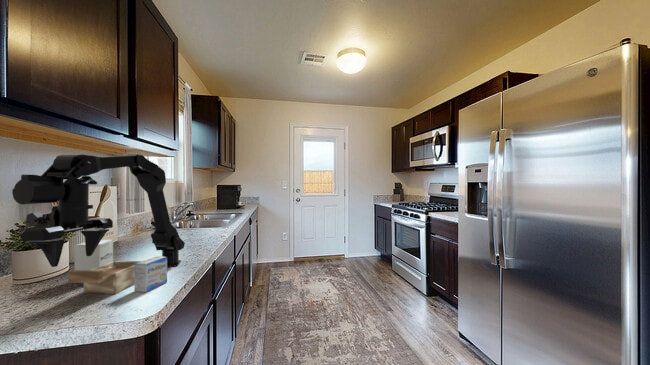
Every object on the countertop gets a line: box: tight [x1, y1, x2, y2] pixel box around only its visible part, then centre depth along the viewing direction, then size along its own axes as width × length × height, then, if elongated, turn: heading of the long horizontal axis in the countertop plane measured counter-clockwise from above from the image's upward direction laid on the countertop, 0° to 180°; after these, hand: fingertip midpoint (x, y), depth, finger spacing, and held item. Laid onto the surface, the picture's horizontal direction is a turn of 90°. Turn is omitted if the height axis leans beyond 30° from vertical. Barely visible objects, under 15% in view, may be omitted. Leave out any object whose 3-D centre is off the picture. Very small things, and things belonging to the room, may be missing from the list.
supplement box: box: [74, 239, 114, 270], centre depth 86 cm, size 7×7×13 cm
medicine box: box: [134, 255, 168, 293], centre depth 79 cm, size 8×4×9 cm, turn 168°
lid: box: [67, 268, 124, 284], centre depth 74 cm, size 10×9×3 cm
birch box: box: [83, 260, 143, 295], centre depth 80 cm, size 11×10×6 cm
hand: (72, 260), depth 65 cm, fingers open, 9 cm apart
